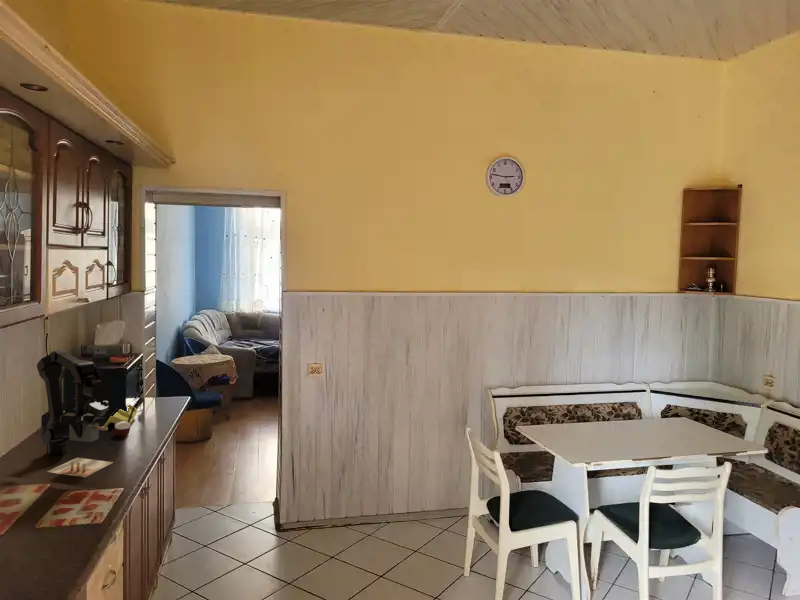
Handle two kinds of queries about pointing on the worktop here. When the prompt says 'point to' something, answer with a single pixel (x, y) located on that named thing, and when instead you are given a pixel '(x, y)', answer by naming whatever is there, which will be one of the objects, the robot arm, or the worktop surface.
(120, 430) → the cocoa
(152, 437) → the worktop surface
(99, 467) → the birch board
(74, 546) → the worktop surface
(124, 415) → the plastic component
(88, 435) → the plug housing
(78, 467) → the header pins
